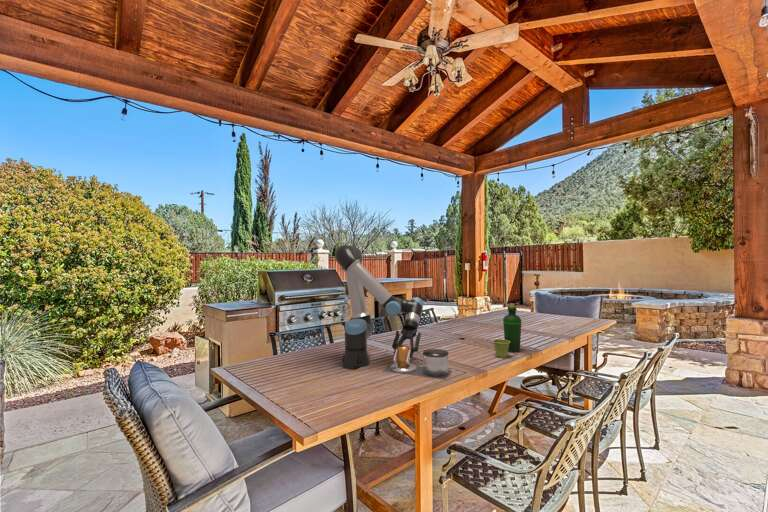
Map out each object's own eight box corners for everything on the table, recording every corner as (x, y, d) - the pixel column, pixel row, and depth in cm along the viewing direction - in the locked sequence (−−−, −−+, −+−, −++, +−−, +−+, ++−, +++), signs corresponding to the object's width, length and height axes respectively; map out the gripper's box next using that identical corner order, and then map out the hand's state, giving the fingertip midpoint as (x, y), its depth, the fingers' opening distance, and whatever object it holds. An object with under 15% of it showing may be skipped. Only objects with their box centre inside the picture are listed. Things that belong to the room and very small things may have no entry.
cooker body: (419, 375, 165) (419, 354, 165) (427, 367, 176) (426, 348, 176) (445, 378, 160) (445, 357, 160) (451, 370, 171) (450, 350, 171)
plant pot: (511, 359, 193) (511, 343, 193) (493, 358, 195) (493, 342, 195) (509, 354, 202) (508, 339, 202) (492, 353, 204) (492, 338, 204)
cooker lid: (386, 371, 171) (386, 348, 171) (396, 363, 183) (395, 342, 183) (411, 374, 166) (411, 351, 166) (419, 366, 178) (419, 344, 178)
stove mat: (381, 373, 172) (381, 371, 172) (392, 364, 184) (392, 363, 184) (445, 381, 159) (445, 379, 159) (452, 372, 172) (452, 370, 172)
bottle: (523, 349, 212) (523, 303, 212) (519, 354, 203) (519, 306, 203) (505, 347, 218) (505, 302, 218) (501, 351, 209) (500, 304, 209)
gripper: (430, 328, 185) (421, 368, 170) (396, 326, 192) (385, 364, 177) (427, 320, 180) (417, 360, 165) (393, 317, 188) (381, 356, 172)
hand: (401, 362), depth 171 cm, fingers closed on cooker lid, 6 cm apart
